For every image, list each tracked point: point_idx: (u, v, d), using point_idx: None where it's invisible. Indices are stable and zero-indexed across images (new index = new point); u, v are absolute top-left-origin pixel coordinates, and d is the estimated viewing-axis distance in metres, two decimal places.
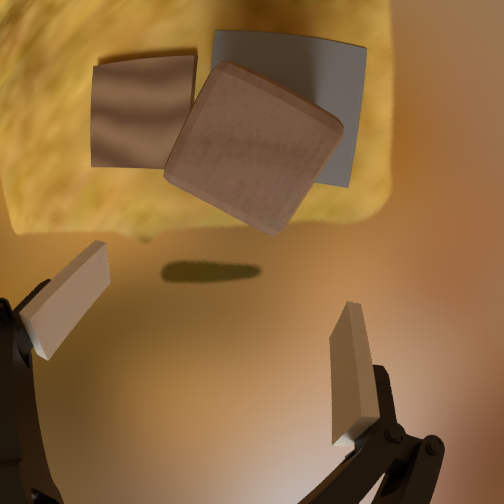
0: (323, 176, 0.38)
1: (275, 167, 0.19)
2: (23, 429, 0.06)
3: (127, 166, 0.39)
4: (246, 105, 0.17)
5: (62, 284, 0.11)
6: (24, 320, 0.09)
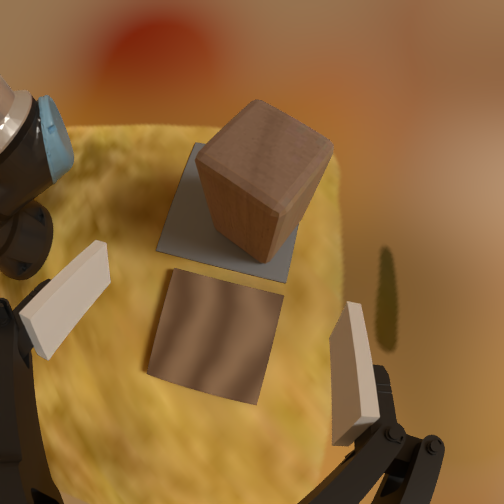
0: None
1: (281, 132, 0.26)
2: (23, 429, 0.06)
3: (267, 359, 0.38)
4: (233, 142, 0.25)
5: (62, 284, 0.11)
6: (24, 320, 0.09)
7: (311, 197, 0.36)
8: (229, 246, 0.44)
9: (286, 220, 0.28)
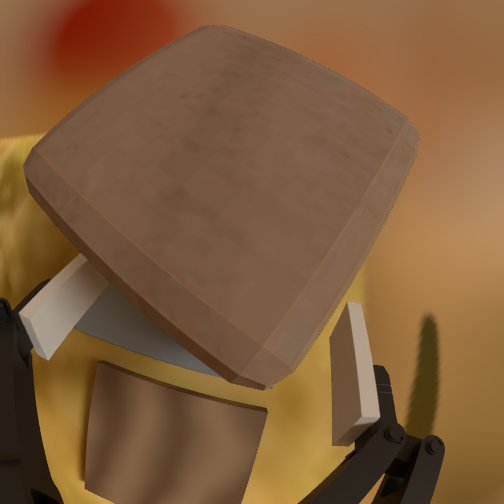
0: None
1: (275, 81, 0.08)
2: (23, 429, 0.06)
3: (242, 493, 0.20)
4: (120, 111, 0.07)
5: (62, 284, 0.11)
6: (24, 320, 0.09)
7: None
8: None
9: None
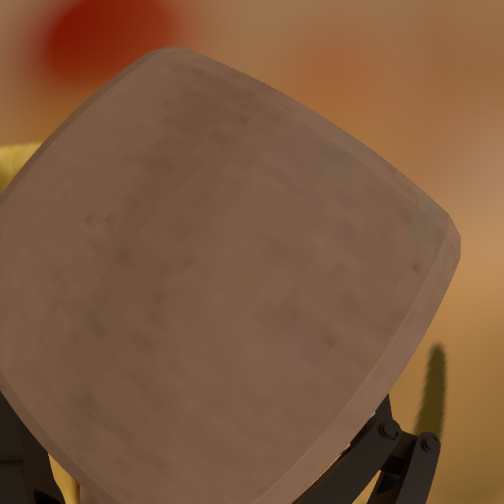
0: None
1: (231, 176, 0.05)
2: (26, 429, 0.06)
3: None
4: (21, 240, 0.05)
5: None
6: None
7: None
8: None
9: None
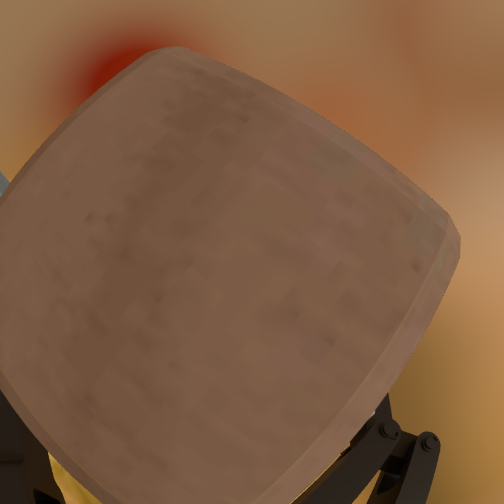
0: None
1: (231, 175, 0.05)
2: (26, 429, 0.06)
3: None
4: (21, 240, 0.05)
5: None
6: None
7: None
8: None
9: None
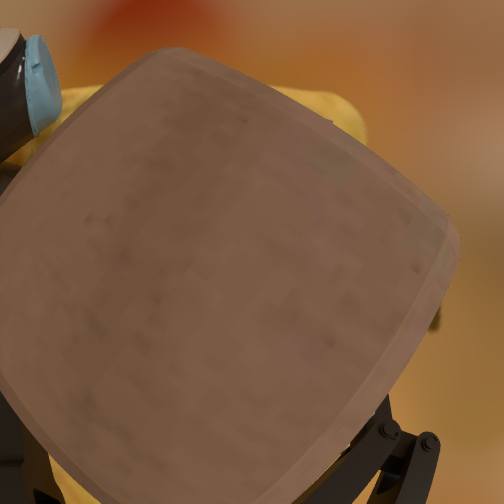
0: None
1: (230, 177, 0.05)
2: (26, 429, 0.06)
3: None
4: (21, 241, 0.05)
5: None
6: None
7: None
8: None
9: None
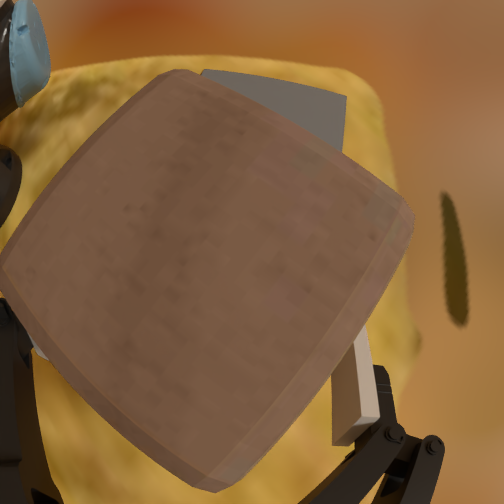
0: (337, 112, 0.33)
1: (233, 175, 0.07)
2: (23, 429, 0.06)
3: None
4: (67, 227, 0.07)
5: None
6: None
7: None
8: None
9: None
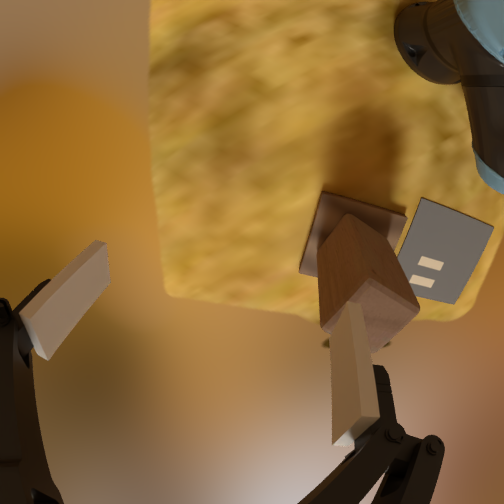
0: (444, 298, 0.54)
1: (383, 328, 0.34)
2: (23, 429, 0.06)
3: None
4: (377, 302, 0.32)
5: (62, 284, 0.11)
6: (24, 320, 0.09)
7: None
8: (415, 253, 0.51)
9: None
